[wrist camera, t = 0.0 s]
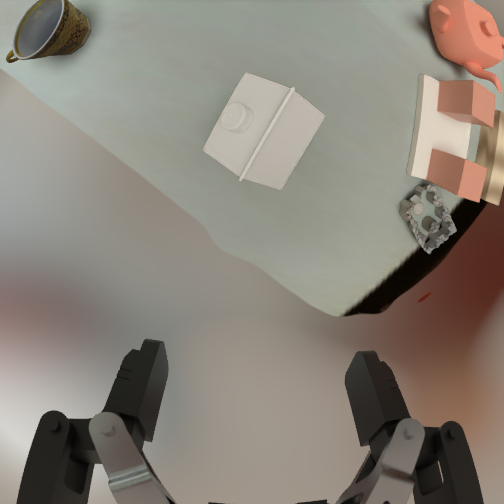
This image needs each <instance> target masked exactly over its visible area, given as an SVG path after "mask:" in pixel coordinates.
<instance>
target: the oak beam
mask: <svg viewBox="0 0 504 504" xmlns="http://www.w3.org/2000/svg"><path fill="white" fill-rule="evenodd" d="M475 163H476V164H478V165H480V166H482V167H485V168H487V171H486V176H485V181H484V185H483V189H482V193H481V197H480V198H482V199H484V200H485V201H488V202H491V203H493V204H497V205H499V202H500V197H501V194H502V190H503V185H504V113H503V112H501V111H498V110H495V112H494V124H493V128H491V127H487V126H482V125H481V129H480V136H479V144H478V150H477V156H476V161H475Z"/></svg>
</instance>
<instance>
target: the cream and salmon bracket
mask: <svg viewBox="0 0 504 504" xmlns="http://www.w3.org/2000/svg"><path fill="white" fill-rule="evenodd" d="M494 112H495V95H494V94H493V93H492V92H490V91H489V90H487V89H486V88H484V87H483V86H481V85H480V84H478V83H477V82H475V81H474V80H463V81H437V80H435V79H433V78H431V77H429V76H427V75H425V74H424V75H419V83H418V96H417V107H416V116H415V124H414V131H413V138H412V144H411V150H410V156H409V161H408V167H407V172H406V173H407V174H409V175H411V176H414V177H418V178H422V179H426V180H428V181H430V182H432V183H434V184H436V185H438V186H440V187H442V188H444V189H446V190H448V191H450V192H451V193H453V194H455V195H457V196H460V197H463V198H466V199H470V200H473V201H476V202H479V201H480V197H481V193H482V189H483V185H484V181H485V176H486V171H487V168H485V167H482V166H480V165H478V164H476V163H474V162H471V161H469V160H467V159H466V156H467V150H468V144H469V137H470V130H471V123H472V124H477V125H482V126H487V127H491V128H493V124H494Z"/></svg>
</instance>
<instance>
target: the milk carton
mask: <svg viewBox="0 0 504 504" xmlns="http://www.w3.org/2000/svg"><path fill="white" fill-rule="evenodd" d="M294 90H295V88H294V87H292V88H288V87H286V86H283V85H281V84H278V83H275V82H272V81H270V80H267V79H264V78H261V77H258V76H255V75H252V74H249V73H245V74H244V76H243V77H242V79H241V80H240V82H239V83H238V85H237V87H236V88H235V90H234V92H233V94H232V95H231V97H230V99H229V101H228V102H227V104H226V106H225V108H224V110H223V111H222V113H221V115H220V117H219V119H218V121H217V123H216V124H215V126H214V128H213V130H212V132H211V134H210V136H209V138H208V140H207V142H206V144H205V146H204V149H203V151H204V152H205V153H207V154H208V155H210V156H211V157H212V158H214V159H215V160H217V161H218V162H219V163H221V164H222V165H224V166H225V167H226V168H228V169H229V170H231V171H232V172H233V173H235V174H236V175H237V176H239V177H240V179H239V181H242V180H243V179H246V180H250V181H253V182H256V183H259V184H263V185H266V186H269V187H272V188H275V189H279V190H281V189H282V188H283V186H284V185H285V183H286V181H287V180H288V178H289V176H290V175H291V173H292V171H293V170H294V168H295V166H296V165H297V163H298V161H299V160H300V158H301V156H302V155H303V153H304V151H305V150H306V148H307V146H308V145H309V143H310V142H311V140H312V138H313V137H314V135H315V133H316V132H317V130H318V128H319V127H320V125H321V123H322V122H323V120H324V118H325V115H323V114H322V113H321V112H320V111H319V110H318V109H316V108H315V107H314V106H313V105H312V104H310V103H309V102H308V101H307V100H305V99H304V98H303V97H302V96H300V95H299V94H298V93H297V92H295V91H294Z"/></svg>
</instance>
